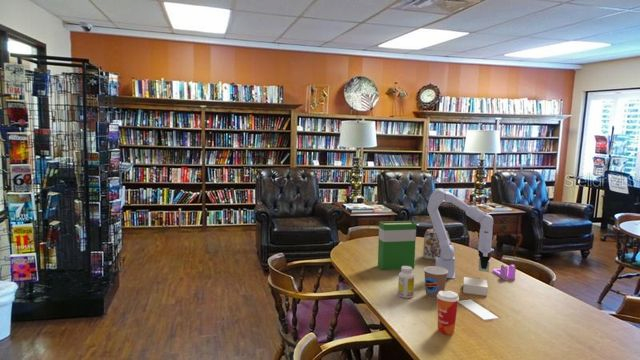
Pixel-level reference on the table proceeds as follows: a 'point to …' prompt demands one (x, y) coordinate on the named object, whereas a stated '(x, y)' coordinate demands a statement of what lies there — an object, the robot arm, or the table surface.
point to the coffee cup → (434, 280)
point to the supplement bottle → (406, 282)
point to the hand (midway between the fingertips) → (483, 266)
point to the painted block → (475, 286)
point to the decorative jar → (431, 245)
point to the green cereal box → (396, 244)
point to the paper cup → (447, 311)
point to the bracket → (505, 272)
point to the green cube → (483, 269)
